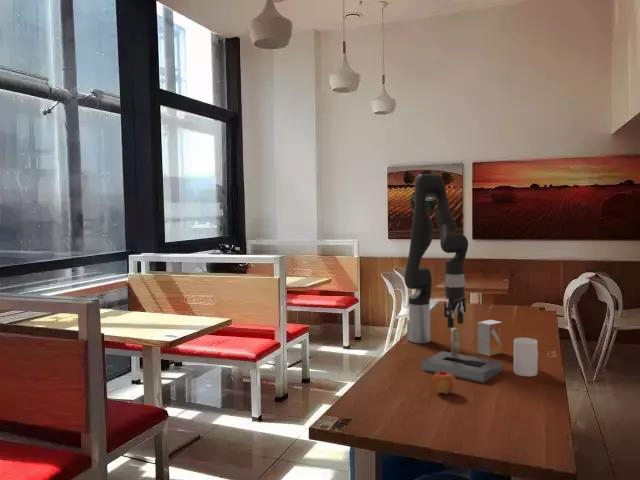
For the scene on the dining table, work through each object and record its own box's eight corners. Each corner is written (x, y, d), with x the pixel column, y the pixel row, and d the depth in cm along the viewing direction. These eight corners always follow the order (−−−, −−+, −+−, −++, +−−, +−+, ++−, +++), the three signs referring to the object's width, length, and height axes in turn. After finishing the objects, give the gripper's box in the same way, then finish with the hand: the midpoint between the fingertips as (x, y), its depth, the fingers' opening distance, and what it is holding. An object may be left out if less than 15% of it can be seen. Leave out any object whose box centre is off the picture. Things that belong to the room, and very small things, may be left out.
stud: (446, 358, 213) (446, 329, 212) (452, 355, 217) (452, 326, 216) (458, 360, 210) (458, 330, 209) (463, 357, 214) (463, 328, 213)
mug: (538, 367, 199) (538, 336, 198) (537, 377, 188) (538, 344, 187) (514, 365, 202) (514, 334, 201) (513, 375, 191) (513, 342, 190)
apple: (451, 398, 170) (451, 374, 169) (429, 394, 174) (429, 370, 173) (458, 391, 176) (458, 367, 175) (437, 387, 180) (437, 364, 179)
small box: (489, 356, 215) (489, 324, 214) (477, 353, 220) (477, 321, 219) (502, 353, 219) (502, 321, 218) (490, 349, 224) (490, 319, 223)
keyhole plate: (422, 369, 199) (421, 360, 199) (442, 359, 211) (442, 351, 211) (483, 382, 184) (483, 372, 183) (501, 371, 196) (501, 361, 196)
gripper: (454, 282, 219) (455, 321, 220) (437, 286, 208) (438, 327, 209) (471, 283, 214) (472, 323, 215) (455, 288, 204) (456, 330, 204)
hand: (455, 325), depth 212 cm, fingers open, 8 cm apart
